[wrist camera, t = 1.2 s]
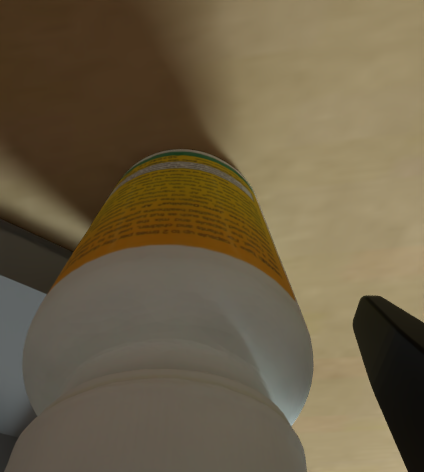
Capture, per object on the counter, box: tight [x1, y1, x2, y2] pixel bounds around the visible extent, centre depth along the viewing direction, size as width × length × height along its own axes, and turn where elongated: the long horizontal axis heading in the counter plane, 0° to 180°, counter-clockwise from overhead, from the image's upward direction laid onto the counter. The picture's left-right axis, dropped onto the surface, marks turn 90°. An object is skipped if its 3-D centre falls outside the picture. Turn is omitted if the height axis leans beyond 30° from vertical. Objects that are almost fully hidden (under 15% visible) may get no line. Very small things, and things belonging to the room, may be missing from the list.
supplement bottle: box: [4, 149, 313, 472], centre depth 8 cm, size 5×5×10 cm
